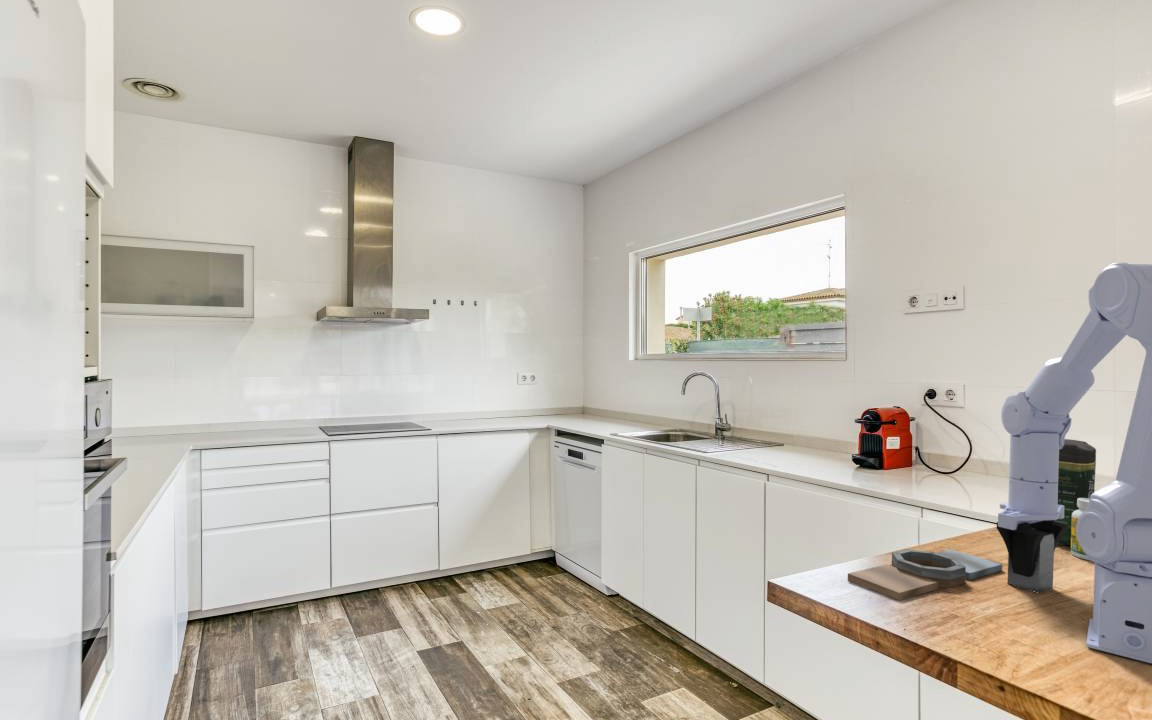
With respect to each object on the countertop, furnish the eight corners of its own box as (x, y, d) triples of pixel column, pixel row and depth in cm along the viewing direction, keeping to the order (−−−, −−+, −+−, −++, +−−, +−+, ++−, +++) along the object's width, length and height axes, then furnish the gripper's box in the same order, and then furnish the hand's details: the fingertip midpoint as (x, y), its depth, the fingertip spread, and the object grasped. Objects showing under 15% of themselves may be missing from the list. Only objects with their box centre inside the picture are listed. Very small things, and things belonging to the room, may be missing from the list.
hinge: (902, 601, 82) (903, 583, 82) (844, 579, 90) (844, 562, 90) (1005, 571, 95) (1006, 556, 95) (946, 554, 103) (947, 540, 103)
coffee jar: (1085, 551, 106) (1088, 444, 106) (1030, 539, 112) (1033, 438, 112) (1098, 541, 112) (1101, 440, 112) (1045, 531, 119) (1048, 435, 118)
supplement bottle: (1110, 565, 99) (1112, 506, 99) (1068, 557, 103) (1070, 500, 103) (1112, 557, 103) (1114, 500, 103) (1072, 550, 107) (1073, 495, 107)
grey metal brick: (1038, 593, 86) (1040, 536, 86) (1007, 583, 90) (1009, 529, 90) (1052, 588, 88) (1054, 533, 88) (1021, 579, 92) (1023, 526, 92)
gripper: (1027, 470, 96) (1025, 556, 96) (976, 477, 89) (973, 571, 89) (1082, 479, 90) (1079, 571, 90) (1031, 487, 83) (1028, 587, 83)
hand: (1030, 572), depth 89 cm, fingers closed on grey metal brick, 4 cm apart
